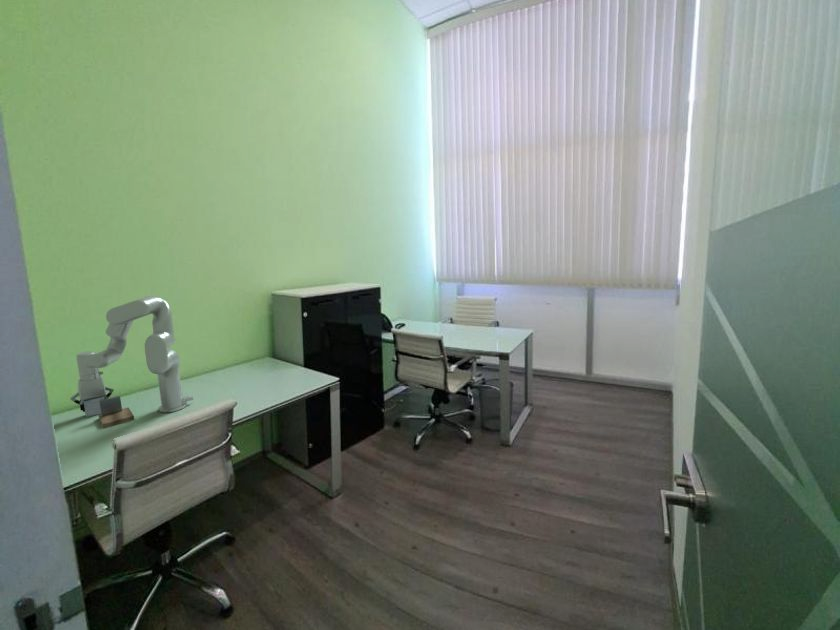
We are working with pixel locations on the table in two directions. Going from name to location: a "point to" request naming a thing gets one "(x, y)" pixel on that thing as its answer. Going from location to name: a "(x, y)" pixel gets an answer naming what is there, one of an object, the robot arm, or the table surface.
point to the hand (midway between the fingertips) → (94, 408)
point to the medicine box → (92, 406)
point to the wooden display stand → (113, 412)
